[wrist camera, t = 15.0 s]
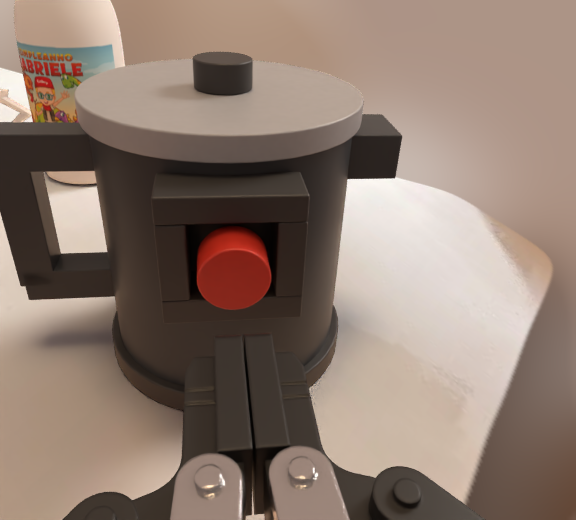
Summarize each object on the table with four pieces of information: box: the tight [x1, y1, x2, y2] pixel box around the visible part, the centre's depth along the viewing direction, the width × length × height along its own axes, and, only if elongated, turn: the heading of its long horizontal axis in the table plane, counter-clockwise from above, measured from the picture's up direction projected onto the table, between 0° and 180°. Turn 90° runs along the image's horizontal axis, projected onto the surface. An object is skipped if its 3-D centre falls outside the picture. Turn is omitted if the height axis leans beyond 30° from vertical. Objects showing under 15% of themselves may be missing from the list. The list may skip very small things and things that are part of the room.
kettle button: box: [197, 226, 271, 310], centre depth 17 cm, size 2×2×2 cm
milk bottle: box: [14, 0, 125, 184], centre depth 41 cm, size 8×8×20 cm
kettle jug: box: [0, 52, 402, 411], centre depth 24 cm, size 13×17×14 cm
